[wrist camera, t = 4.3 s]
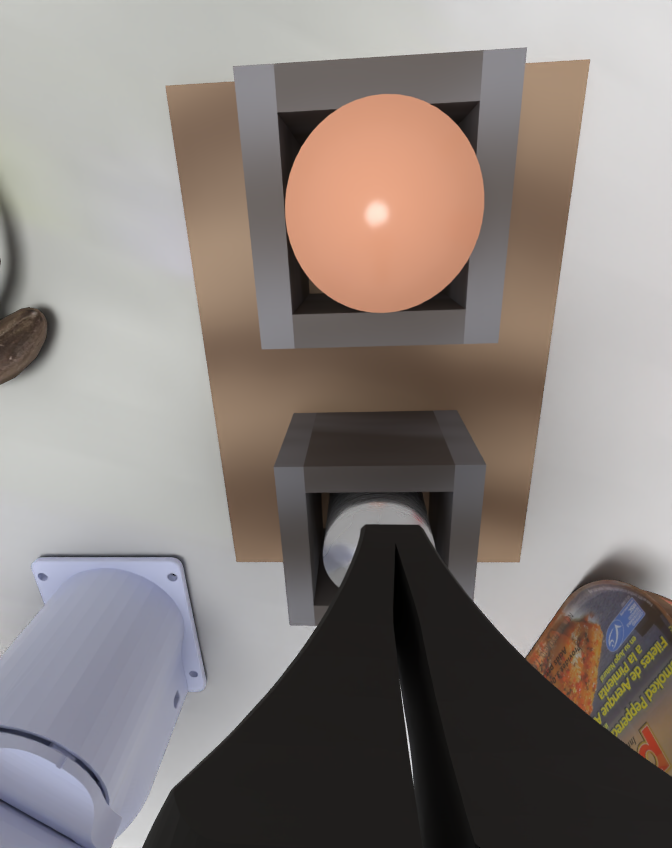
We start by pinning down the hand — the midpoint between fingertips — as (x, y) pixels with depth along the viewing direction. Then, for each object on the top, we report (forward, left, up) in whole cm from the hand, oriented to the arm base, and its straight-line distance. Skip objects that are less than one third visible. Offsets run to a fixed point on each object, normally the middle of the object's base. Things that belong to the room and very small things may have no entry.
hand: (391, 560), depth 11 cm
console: (+2, 0, -11) cm, 11 cm away
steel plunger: (-4, 0, -10) cm, 10 cm away
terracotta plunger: (+7, 0, -7) cm, 10 cm away
